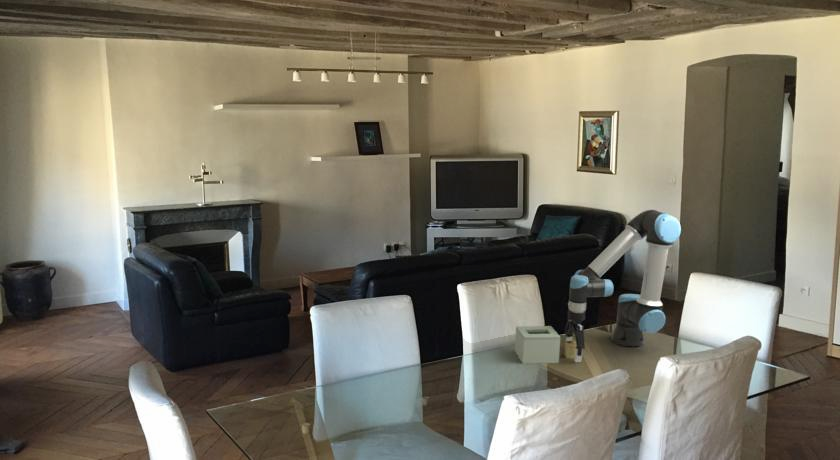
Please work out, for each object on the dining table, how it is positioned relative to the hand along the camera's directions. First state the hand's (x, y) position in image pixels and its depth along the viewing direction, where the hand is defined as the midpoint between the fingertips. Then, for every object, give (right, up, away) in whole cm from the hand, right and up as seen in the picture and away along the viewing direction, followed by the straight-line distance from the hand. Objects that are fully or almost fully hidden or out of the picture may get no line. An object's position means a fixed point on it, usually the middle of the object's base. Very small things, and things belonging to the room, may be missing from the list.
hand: (573, 356), depth 321 cm
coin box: (-17, 0, -2) cm, 17 cm away
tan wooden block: (0, 0, 0) cm, 0 cm away
